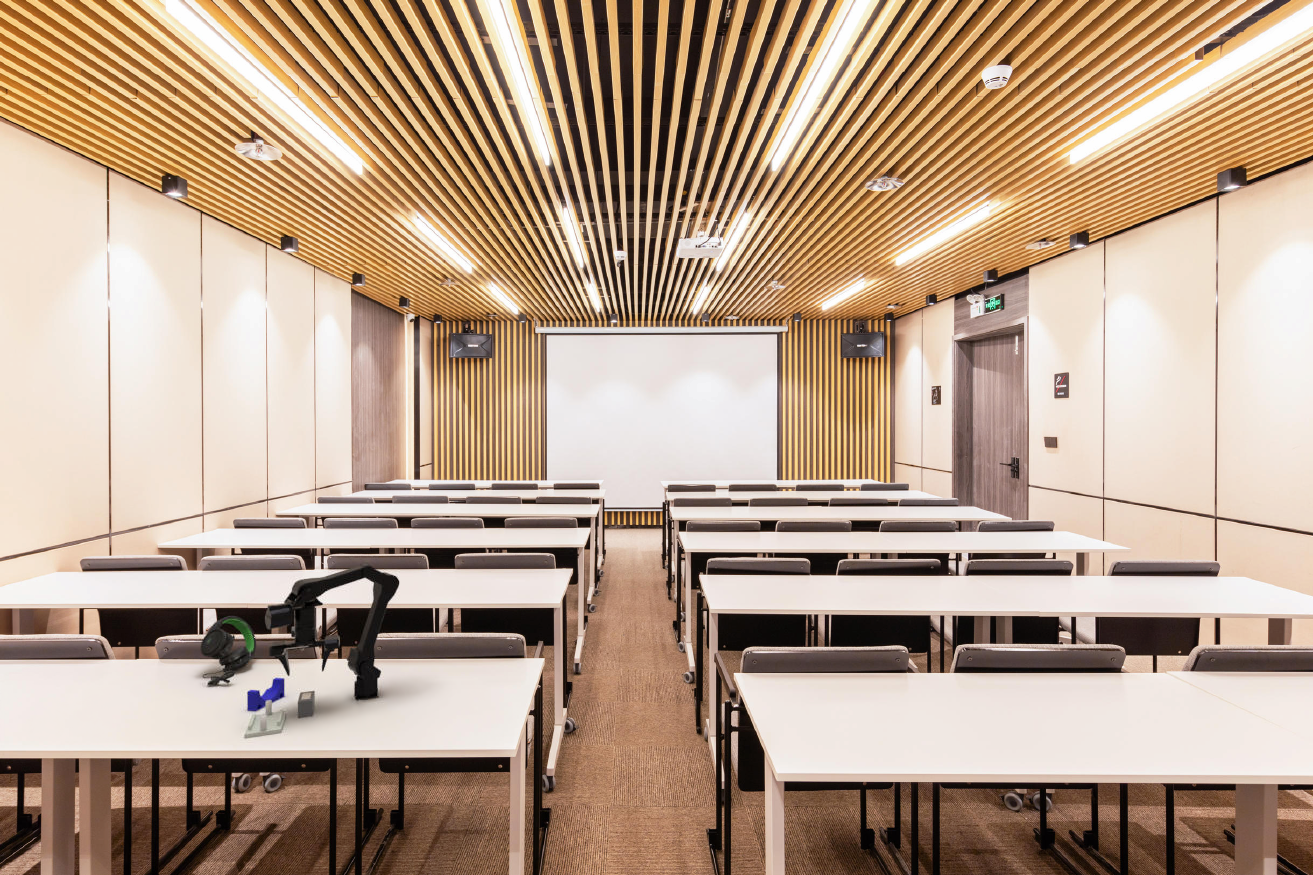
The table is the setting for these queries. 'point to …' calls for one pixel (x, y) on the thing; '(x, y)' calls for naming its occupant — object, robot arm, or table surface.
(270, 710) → the pegged rail plate
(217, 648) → the headset
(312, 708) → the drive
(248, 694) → the cable clip
